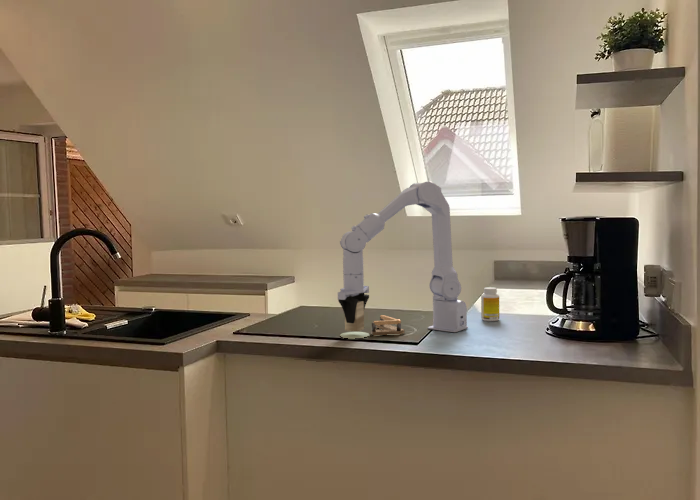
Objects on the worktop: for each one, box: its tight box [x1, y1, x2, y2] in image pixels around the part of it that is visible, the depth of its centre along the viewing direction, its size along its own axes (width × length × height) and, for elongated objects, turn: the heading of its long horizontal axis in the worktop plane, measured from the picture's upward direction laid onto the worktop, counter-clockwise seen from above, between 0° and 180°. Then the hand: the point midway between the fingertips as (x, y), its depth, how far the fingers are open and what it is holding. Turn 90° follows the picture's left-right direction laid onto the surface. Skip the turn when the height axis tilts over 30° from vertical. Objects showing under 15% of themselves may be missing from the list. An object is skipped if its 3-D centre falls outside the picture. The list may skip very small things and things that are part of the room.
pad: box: [339, 331, 370, 340], centre depth 166 cm, size 8×8×1 cm
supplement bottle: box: [480, 286, 500, 322], centre depth 185 cm, size 6×6×10 cm
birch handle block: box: [344, 301, 365, 332], centre depth 166 cm, size 4×4×8 cm
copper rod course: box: [370, 314, 405, 336], centre depth 170 cm, size 12×12×4 cm
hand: (354, 321), depth 166 cm, fingers closed on birch handle block, 4 cm apart
